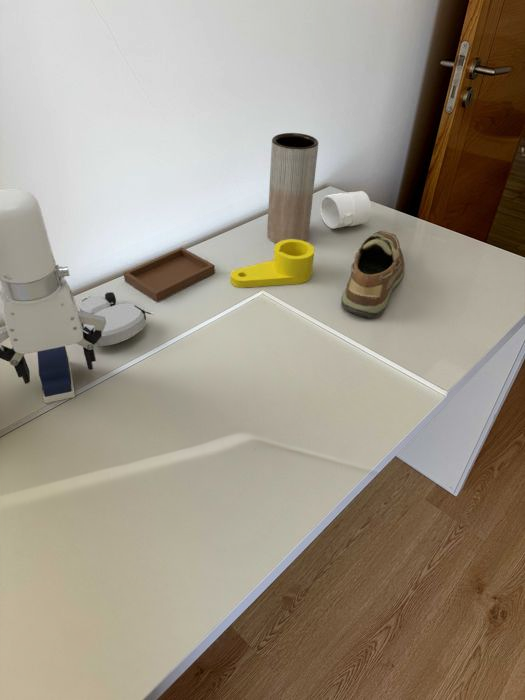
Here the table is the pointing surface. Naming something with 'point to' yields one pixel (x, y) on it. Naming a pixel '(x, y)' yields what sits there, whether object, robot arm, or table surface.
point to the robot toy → (114, 318)
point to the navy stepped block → (55, 374)
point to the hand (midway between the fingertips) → (59, 371)
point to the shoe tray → (169, 274)
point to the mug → (345, 209)
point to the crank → (279, 267)
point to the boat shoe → (374, 275)
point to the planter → (291, 186)
